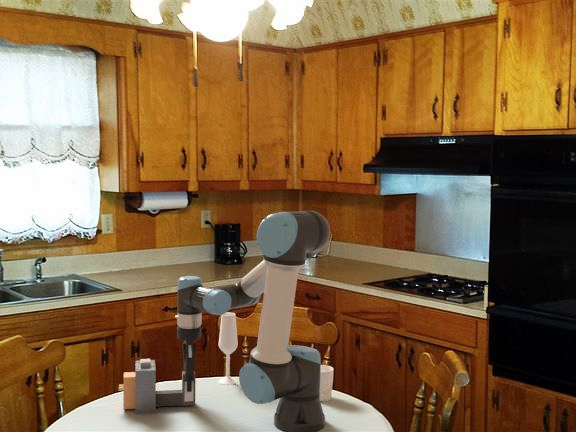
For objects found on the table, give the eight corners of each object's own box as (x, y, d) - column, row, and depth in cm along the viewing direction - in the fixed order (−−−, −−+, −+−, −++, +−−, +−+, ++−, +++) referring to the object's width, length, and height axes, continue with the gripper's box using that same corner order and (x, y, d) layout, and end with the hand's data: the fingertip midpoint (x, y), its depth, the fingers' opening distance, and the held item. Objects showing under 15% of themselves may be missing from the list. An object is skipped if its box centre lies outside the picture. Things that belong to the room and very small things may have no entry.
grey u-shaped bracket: (154, 401, 232) (154, 355, 231) (155, 413, 221) (155, 365, 220) (135, 402, 231) (135, 356, 229) (135, 414, 220) (135, 366, 219)
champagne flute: (217, 384, 250) (218, 316, 248) (218, 378, 256) (219, 311, 254) (236, 384, 250) (237, 316, 248) (237, 378, 256) (238, 311, 254)
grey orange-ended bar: (194, 400, 232) (194, 369, 231) (195, 405, 227) (195, 374, 226) (119, 403, 227) (119, 372, 226) (118, 409, 222) (118, 377, 221)
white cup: (331, 403, 233) (331, 372, 232) (306, 401, 235) (307, 371, 234) (334, 395, 241) (335, 365, 240) (311, 393, 242) (311, 364, 242)
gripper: (176, 319, 234) (175, 390, 236) (178, 332, 218) (177, 408, 220) (199, 319, 235) (198, 389, 237) (203, 332, 219) (202, 407, 221)
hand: (188, 398), depth 229 cm, fingers closed on grey orange-ended bar, 3 cm apart
